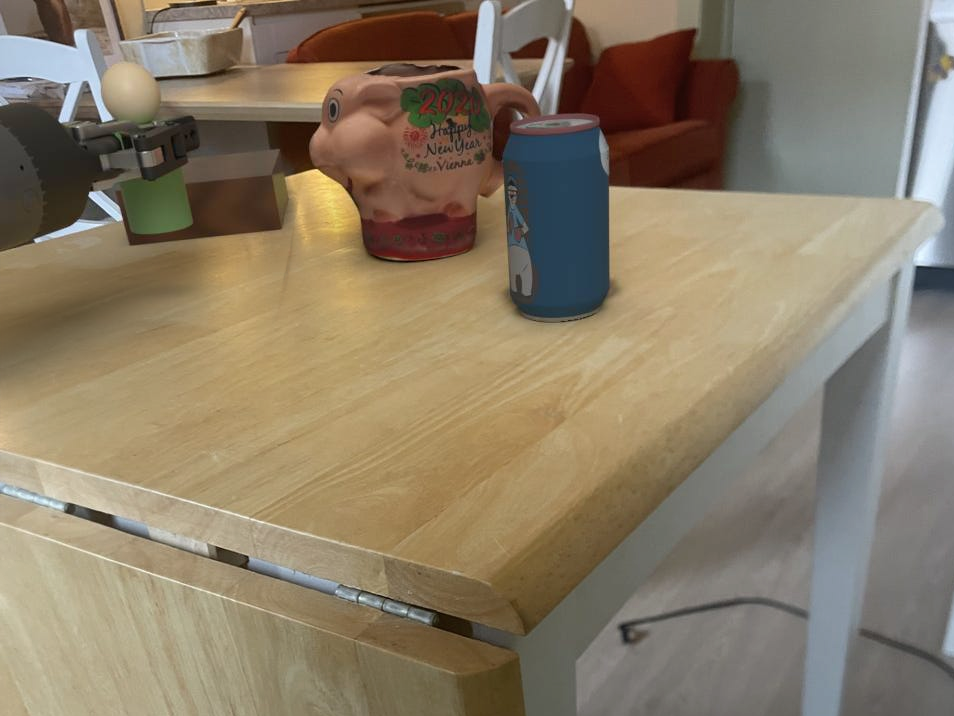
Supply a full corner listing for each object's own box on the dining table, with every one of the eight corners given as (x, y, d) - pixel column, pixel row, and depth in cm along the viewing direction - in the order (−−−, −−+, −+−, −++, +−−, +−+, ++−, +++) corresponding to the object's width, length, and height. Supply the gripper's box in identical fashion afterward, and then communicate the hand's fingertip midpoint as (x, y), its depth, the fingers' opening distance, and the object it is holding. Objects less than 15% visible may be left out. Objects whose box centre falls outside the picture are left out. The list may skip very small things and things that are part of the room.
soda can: (623, 297, 72) (624, 111, 65) (588, 328, 67) (585, 130, 60) (534, 292, 75) (526, 112, 68) (495, 321, 70) (482, 130, 63)
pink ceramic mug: (512, 214, 96) (503, 47, 88) (571, 239, 87) (566, 54, 79) (311, 250, 91) (282, 75, 83) (350, 281, 81) (321, 86, 73)
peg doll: (125, 236, 74) (82, 68, 67) (136, 222, 77) (96, 61, 71) (189, 230, 74) (151, 62, 68) (196, 216, 78) (161, 55, 71)
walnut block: (133, 259, 93) (114, 190, 90) (156, 225, 105) (140, 163, 101) (284, 243, 94) (271, 174, 91) (290, 211, 105) (279, 148, 102)
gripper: (59, 111, 57) (234, 70, 69) (-117, 114, 62) (75, 75, 75) (97, 249, 61) (256, 187, 74) (-70, 241, 66) (104, 184, 79)
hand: (164, 131), depth 74 cm, fingers closed on peg doll, 4 cm apart
